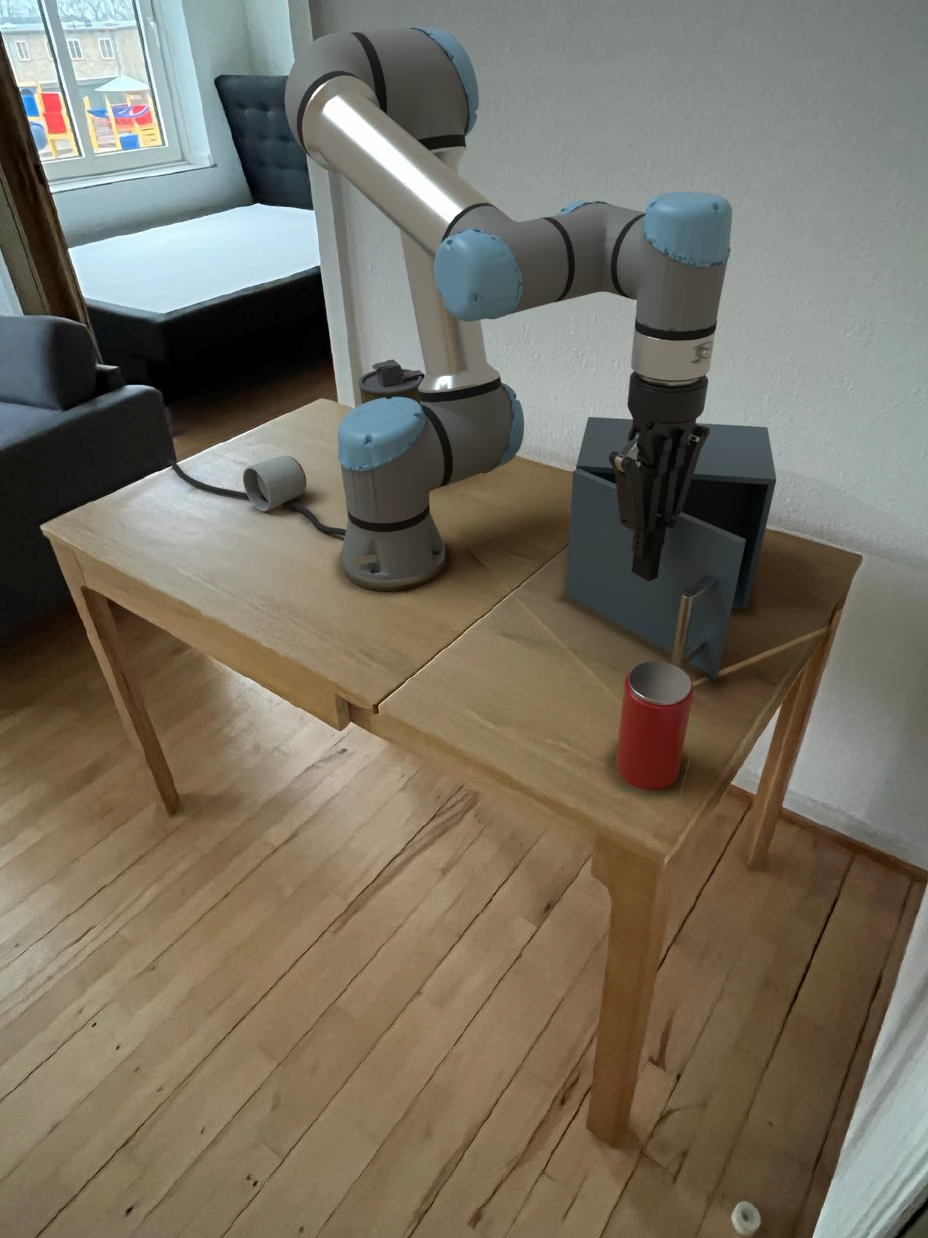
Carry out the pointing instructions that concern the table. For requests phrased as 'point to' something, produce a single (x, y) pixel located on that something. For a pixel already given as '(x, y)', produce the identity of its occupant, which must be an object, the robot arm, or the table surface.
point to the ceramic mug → (274, 482)
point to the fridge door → (672, 603)
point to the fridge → (708, 482)
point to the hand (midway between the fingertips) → (644, 574)
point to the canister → (390, 382)
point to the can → (653, 724)
